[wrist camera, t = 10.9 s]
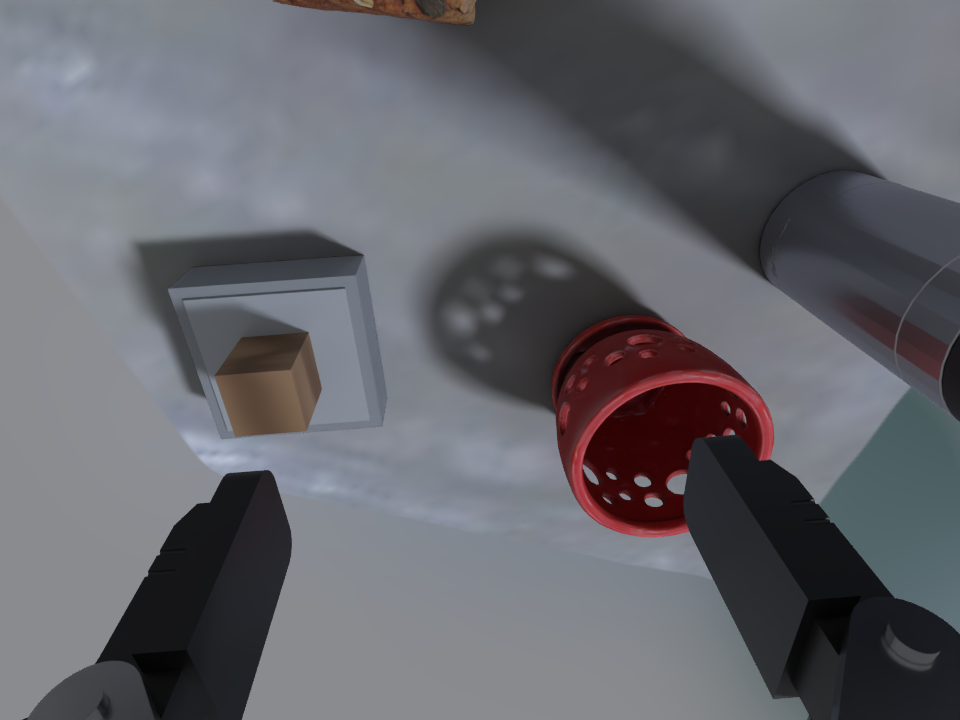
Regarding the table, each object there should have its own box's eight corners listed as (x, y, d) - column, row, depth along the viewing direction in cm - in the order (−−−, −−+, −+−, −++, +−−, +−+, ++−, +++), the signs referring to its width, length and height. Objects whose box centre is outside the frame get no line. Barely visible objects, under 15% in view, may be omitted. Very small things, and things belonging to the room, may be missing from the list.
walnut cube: (308, 332, 37) (290, 370, 33) (322, 388, 40) (306, 431, 35) (241, 337, 37) (214, 375, 33) (258, 394, 40) (235, 436, 35)
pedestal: (363, 255, 39) (355, 276, 36) (387, 397, 45) (382, 428, 42) (192, 267, 39) (166, 290, 35) (238, 408, 45) (220, 440, 41)
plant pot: (700, 419, 48) (770, 523, 38) (549, 445, 49) (578, 555, 38) (703, 279, 42) (789, 357, 31) (529, 311, 42) (557, 398, 32)
